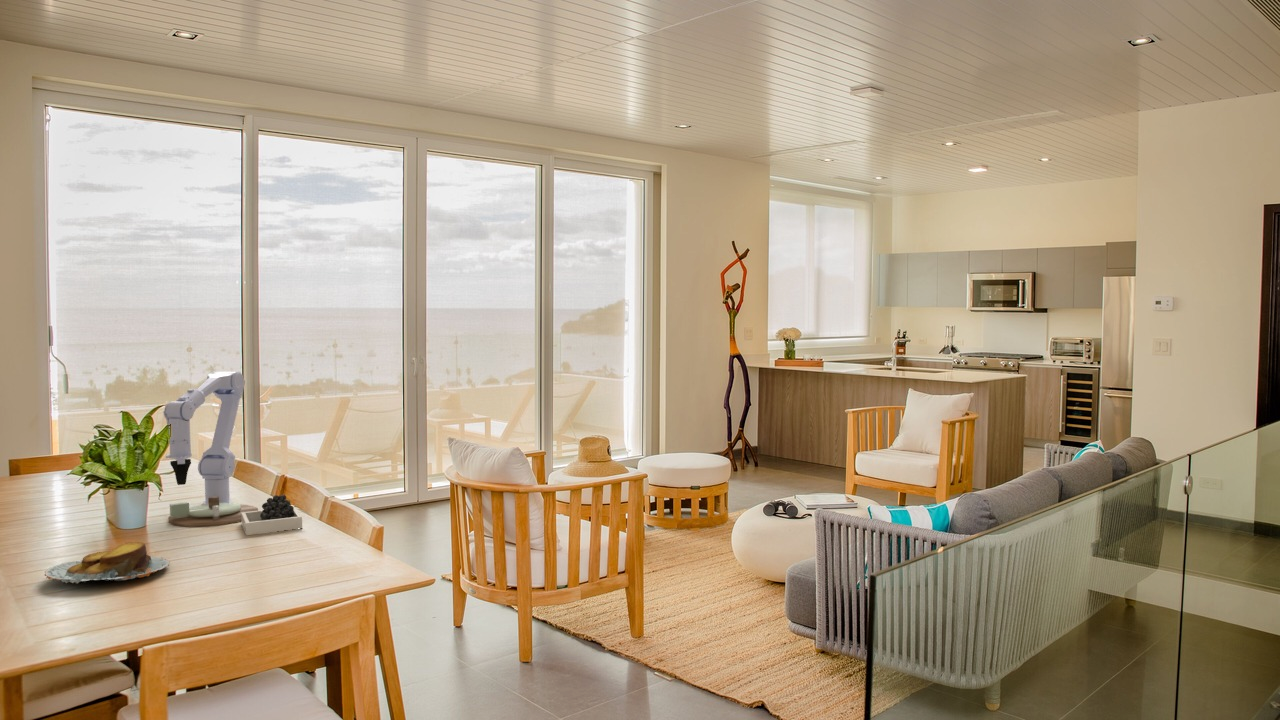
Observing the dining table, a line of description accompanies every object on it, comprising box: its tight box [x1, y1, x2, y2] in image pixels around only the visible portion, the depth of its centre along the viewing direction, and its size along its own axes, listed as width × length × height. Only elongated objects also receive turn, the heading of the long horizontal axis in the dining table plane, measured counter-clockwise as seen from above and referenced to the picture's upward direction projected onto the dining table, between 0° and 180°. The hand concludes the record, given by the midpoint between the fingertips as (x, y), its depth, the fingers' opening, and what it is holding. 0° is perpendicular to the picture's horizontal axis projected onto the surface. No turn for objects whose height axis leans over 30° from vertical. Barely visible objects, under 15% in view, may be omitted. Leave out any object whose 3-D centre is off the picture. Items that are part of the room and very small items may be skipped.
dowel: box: [212, 505, 220, 521], centre depth 263 cm, size 2×2×5 cm
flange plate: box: [169, 501, 242, 518], centre depth 270 cm, size 20×15×4 cm
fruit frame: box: [240, 506, 303, 536], centre depth 259 cm, size 15×15×4 cm
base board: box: [168, 496, 259, 528], centre depth 271 cm, size 25×25×6 cm
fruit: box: [260, 494, 294, 521], centre depth 259 cm, size 9×8×15 cm
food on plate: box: [44, 541, 171, 584], centre depth 212 cm, size 26×26×7 cm
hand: (181, 483), depth 270 cm, fingers closed
